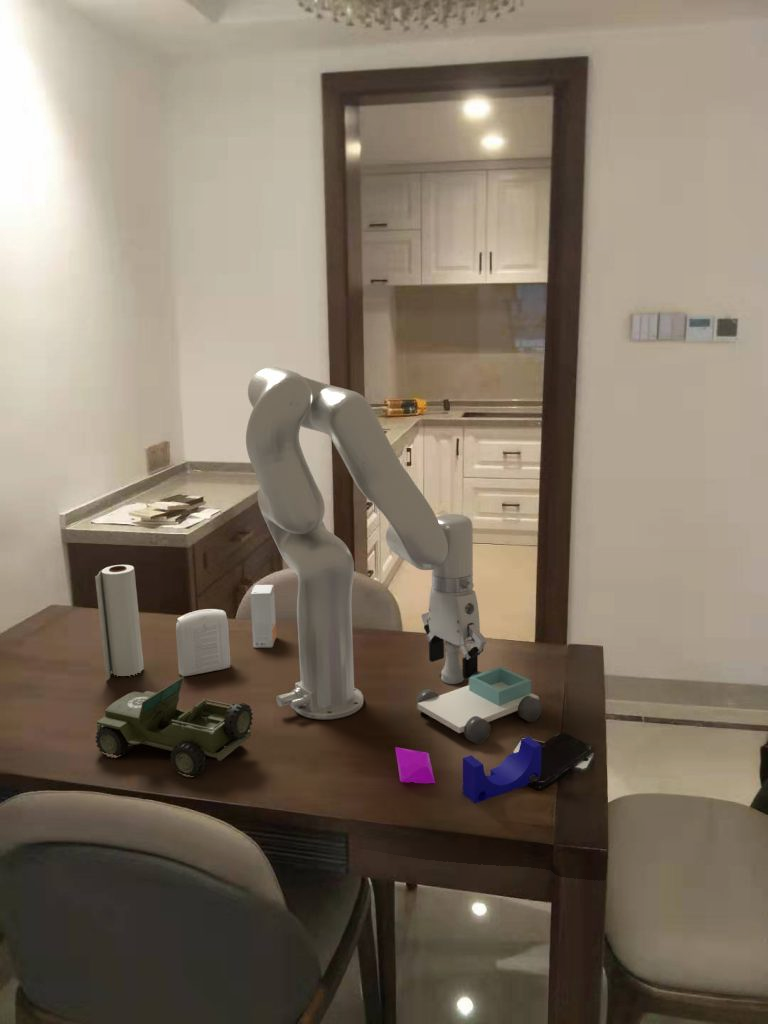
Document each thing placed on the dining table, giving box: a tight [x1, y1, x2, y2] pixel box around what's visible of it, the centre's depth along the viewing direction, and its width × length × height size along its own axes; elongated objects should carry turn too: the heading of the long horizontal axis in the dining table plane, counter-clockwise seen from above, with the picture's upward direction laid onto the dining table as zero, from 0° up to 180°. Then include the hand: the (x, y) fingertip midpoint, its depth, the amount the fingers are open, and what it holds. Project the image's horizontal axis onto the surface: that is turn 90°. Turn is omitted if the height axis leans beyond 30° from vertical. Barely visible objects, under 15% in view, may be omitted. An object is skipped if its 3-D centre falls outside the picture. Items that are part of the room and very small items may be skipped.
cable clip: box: [462, 736, 542, 804], centre depth 130 cm, size 12×4×6 cm, turn 119°
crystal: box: [394, 746, 436, 784], centre depth 132 cm, size 5×5×5 cm
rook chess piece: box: [440, 640, 465, 685], centre depth 165 cm, size 4×4×8 cm
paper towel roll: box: [94, 564, 145, 680], centre depth 170 cm, size 7×6×21 cm
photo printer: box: [175, 608, 231, 677], centre depth 171 cm, size 10×4×12 cm, turn 116°
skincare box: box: [249, 584, 277, 649], centre depth 184 cm, size 6×4×12 cm
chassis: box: [415, 666, 543, 745], centre depth 151 cm, size 18×15×6 cm
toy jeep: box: [95, 676, 254, 778], centre depth 141 cm, size 12×25×11 cm, turn 65°
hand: (452, 667), depth 165 cm, fingers open, 9 cm apart
